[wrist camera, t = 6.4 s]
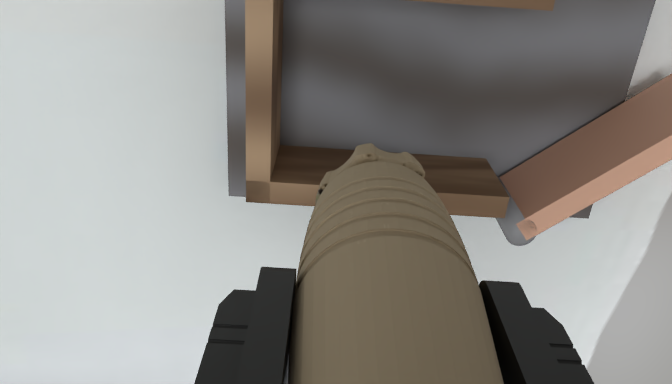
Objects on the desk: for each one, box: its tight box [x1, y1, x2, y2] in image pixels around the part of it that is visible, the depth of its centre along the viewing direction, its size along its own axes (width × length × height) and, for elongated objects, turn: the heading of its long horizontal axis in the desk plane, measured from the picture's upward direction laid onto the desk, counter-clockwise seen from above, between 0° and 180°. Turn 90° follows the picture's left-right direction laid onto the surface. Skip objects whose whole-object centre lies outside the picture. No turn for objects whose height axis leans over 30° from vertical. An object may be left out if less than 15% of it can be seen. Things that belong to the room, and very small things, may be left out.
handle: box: [288, 143, 504, 384], centre depth 10 cm, size 5×6×15 cm
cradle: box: [225, 0, 656, 218], centre depth 28 cm, size 16×22×6 cm
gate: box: [496, 74, 672, 246], centre depth 29 cm, size 12×2×5 cm, turn 126°
